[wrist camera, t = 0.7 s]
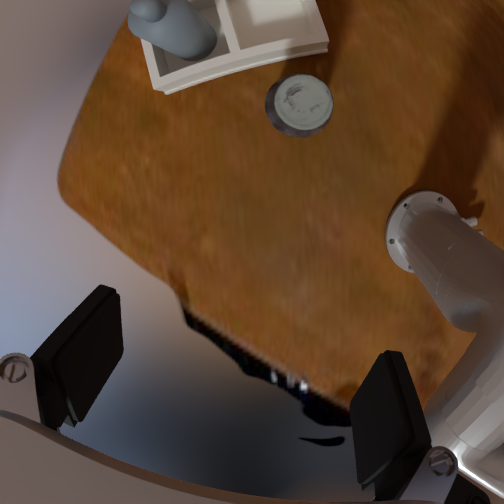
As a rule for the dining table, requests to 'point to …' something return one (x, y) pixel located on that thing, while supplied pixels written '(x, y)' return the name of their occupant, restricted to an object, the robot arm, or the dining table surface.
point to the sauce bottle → (299, 105)
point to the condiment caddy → (222, 36)
